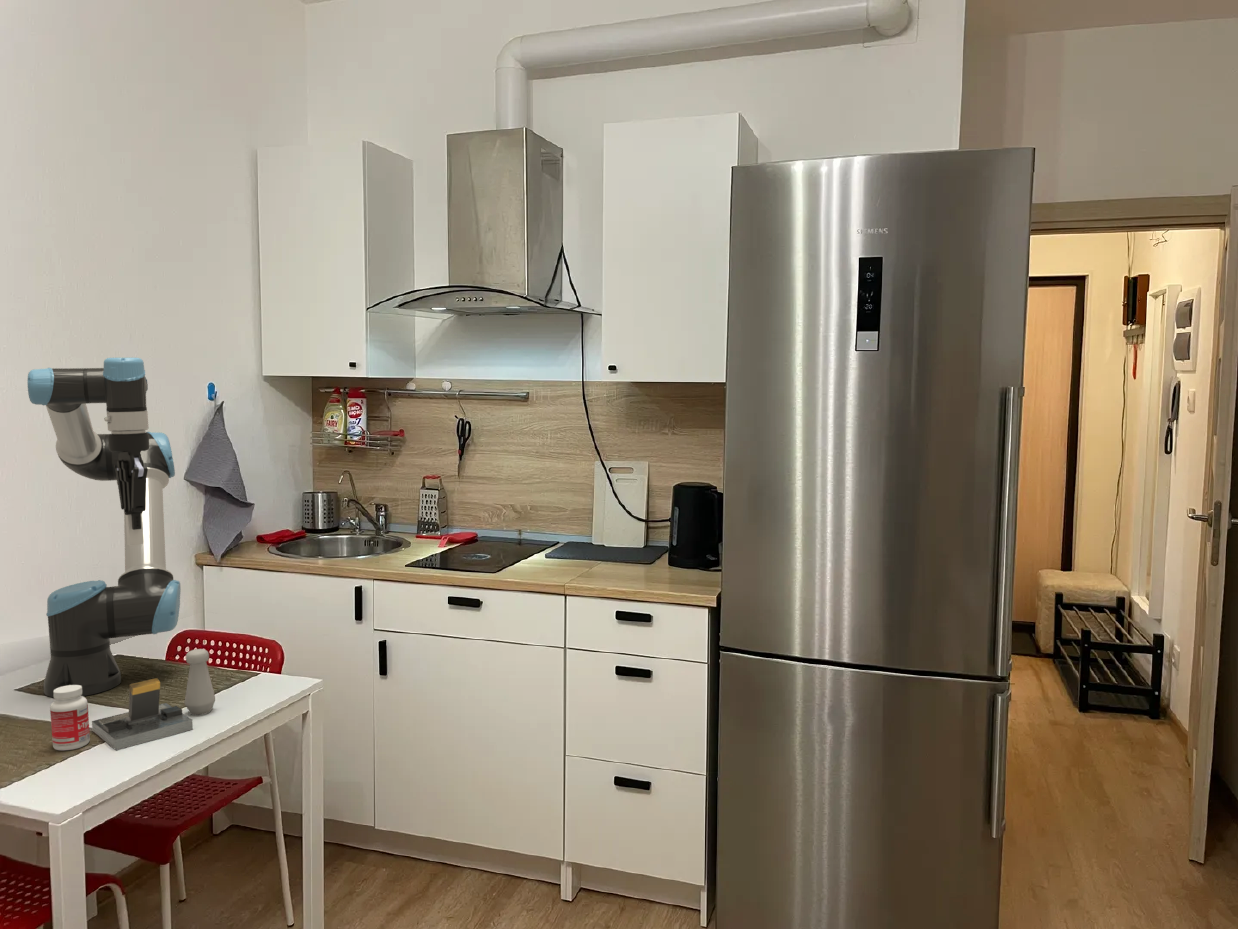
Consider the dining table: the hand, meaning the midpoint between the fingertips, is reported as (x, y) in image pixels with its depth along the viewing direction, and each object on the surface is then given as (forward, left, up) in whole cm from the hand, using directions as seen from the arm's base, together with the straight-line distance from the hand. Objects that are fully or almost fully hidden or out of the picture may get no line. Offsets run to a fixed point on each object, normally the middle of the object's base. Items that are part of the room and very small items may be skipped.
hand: (135, 544), depth 198 cm
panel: (+16, -6, -34) cm, 38 cm away
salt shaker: (+14, +6, -35) cm, 38 cm away
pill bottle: (+14, -18, -35) cm, 41 cm away
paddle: (+17, -6, -31) cm, 36 cm away
